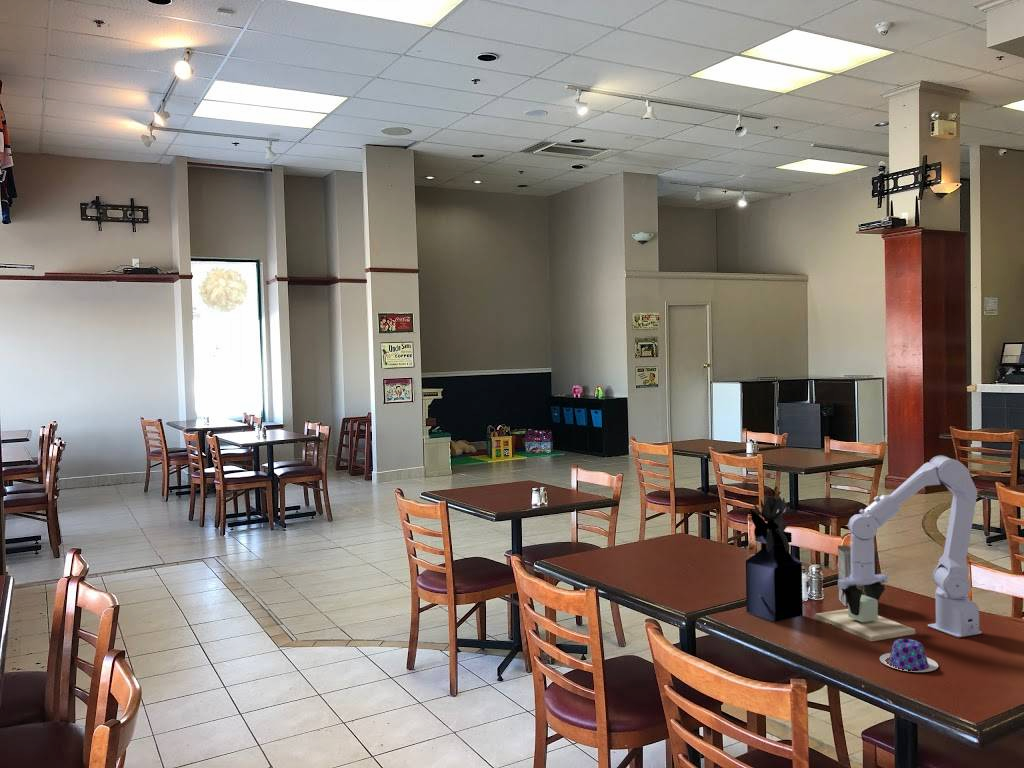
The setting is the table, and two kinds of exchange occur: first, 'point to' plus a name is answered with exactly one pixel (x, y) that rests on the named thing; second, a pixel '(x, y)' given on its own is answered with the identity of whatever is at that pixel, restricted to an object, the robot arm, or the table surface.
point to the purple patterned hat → (909, 656)
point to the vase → (773, 567)
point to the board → (865, 626)
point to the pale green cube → (866, 609)
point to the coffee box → (848, 569)
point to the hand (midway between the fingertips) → (863, 612)
